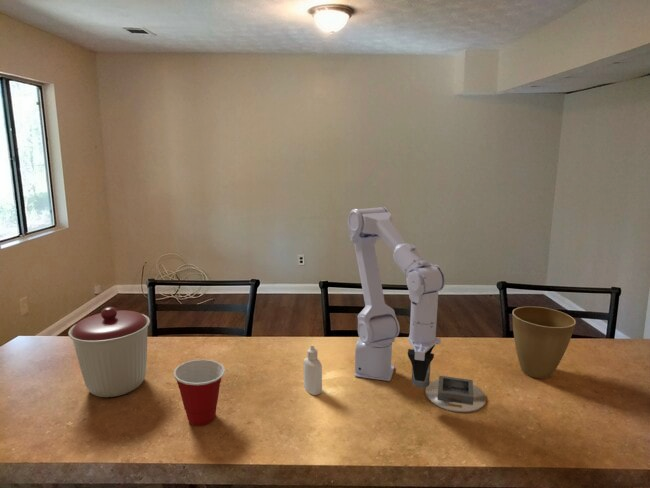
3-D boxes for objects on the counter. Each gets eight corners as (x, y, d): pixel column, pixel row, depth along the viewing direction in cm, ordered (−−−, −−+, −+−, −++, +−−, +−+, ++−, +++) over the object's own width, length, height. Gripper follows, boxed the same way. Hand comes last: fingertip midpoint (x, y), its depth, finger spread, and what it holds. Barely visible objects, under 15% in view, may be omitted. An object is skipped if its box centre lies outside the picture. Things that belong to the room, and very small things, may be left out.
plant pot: (554, 393, 110) (561, 332, 107) (496, 370, 121) (501, 314, 117) (577, 373, 120) (585, 316, 116) (522, 354, 131) (528, 301, 127)
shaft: (410, 386, 102) (411, 361, 101) (412, 377, 106) (413, 353, 105) (428, 388, 101) (430, 363, 100) (429, 379, 105) (431, 355, 103)
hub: (423, 406, 104) (424, 396, 104) (427, 377, 118) (427, 368, 117) (487, 416, 101) (488, 406, 100) (484, 385, 114) (484, 375, 113)
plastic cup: (225, 431, 96) (222, 380, 93) (173, 435, 94) (168, 383, 92) (229, 402, 106) (226, 356, 104) (182, 406, 105) (178, 359, 102)
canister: (168, 385, 114) (161, 306, 109) (93, 416, 101) (82, 328, 97) (136, 362, 126) (129, 290, 122) (65, 387, 113) (54, 308, 109)
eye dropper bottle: (320, 383, 115) (320, 339, 112) (322, 395, 109) (322, 350, 107) (303, 384, 114) (303, 340, 112) (304, 396, 109) (303, 350, 106)
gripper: (440, 334, 92) (436, 394, 95) (443, 309, 106) (439, 362, 109) (405, 330, 94) (403, 389, 97) (412, 306, 108) (410, 358, 111)
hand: (420, 375), depth 103 cm, fingers closed on shaft, 4 cm apart
